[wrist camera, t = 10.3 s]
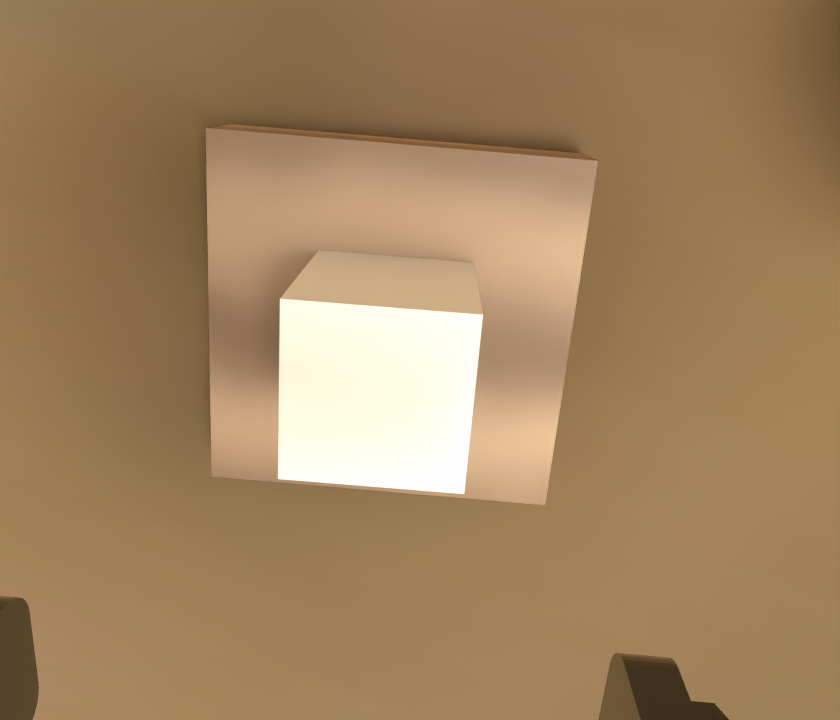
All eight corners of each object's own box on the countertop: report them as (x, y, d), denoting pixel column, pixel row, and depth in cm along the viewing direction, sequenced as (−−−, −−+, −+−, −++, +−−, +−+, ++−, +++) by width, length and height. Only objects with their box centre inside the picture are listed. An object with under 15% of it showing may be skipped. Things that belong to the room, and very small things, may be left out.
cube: (318, 250, 24) (279, 298, 18) (474, 262, 24) (483, 314, 18) (314, 394, 26) (278, 479, 20) (459, 405, 26) (464, 493, 20)
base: (231, 123, 26) (205, 127, 23) (581, 153, 26) (598, 160, 23) (233, 439, 30) (211, 476, 27) (535, 465, 30) (545, 504, 27)
